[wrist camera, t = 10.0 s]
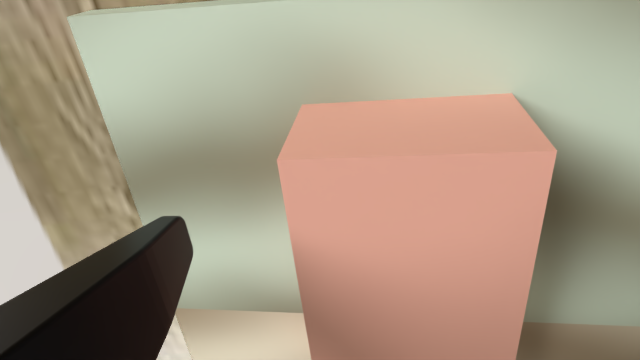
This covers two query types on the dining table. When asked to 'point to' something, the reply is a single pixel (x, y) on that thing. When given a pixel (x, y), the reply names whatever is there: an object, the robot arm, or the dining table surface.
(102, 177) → the dining table surface
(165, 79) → the board
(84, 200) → the dining table surface
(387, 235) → the pink eraser
